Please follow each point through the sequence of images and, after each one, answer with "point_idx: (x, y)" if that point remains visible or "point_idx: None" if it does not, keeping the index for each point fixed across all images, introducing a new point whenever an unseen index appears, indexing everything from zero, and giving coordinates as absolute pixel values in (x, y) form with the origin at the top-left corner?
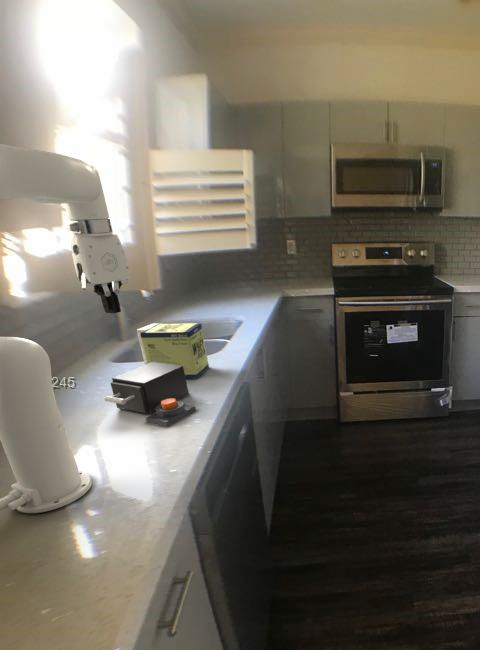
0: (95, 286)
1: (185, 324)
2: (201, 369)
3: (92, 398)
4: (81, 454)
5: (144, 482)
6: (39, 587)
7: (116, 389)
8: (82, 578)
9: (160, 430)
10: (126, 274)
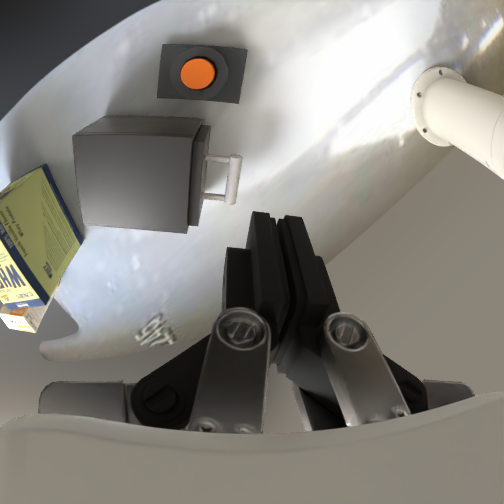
0: (422, 408)
1: None
2: (25, 175)
3: (177, 269)
4: (358, 137)
5: (412, 3)
6: None
7: (200, 206)
8: None
9: (261, 55)
10: (57, 475)
